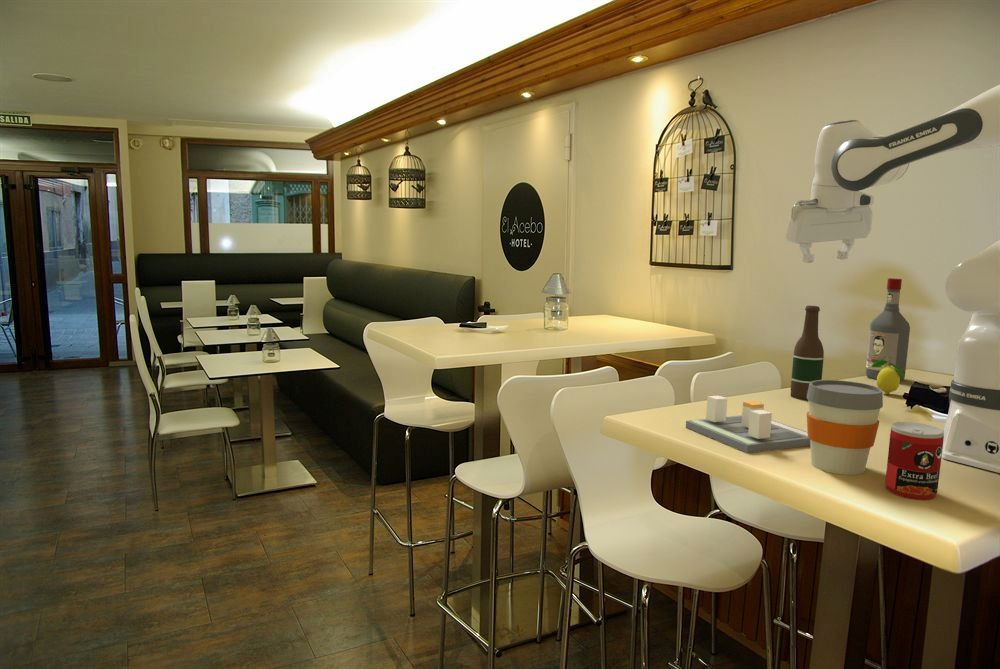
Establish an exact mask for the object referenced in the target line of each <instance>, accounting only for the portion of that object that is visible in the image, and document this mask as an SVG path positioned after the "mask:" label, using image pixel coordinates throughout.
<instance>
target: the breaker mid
mask: <svg viewBox="0 0 1000 669" xmlns="http://www.w3.org/2000/svg"><path fill="white" fill-rule="evenodd" d="M764 408H765V404H764V403H762V402H760V401H759V402H758V401H755V400H750V401H749V400H748V401H743V402H742V414H741V415H742V424H741V425H742V426H745V427H748V428H749V417H750V411H753V410H764Z"/></svg>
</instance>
